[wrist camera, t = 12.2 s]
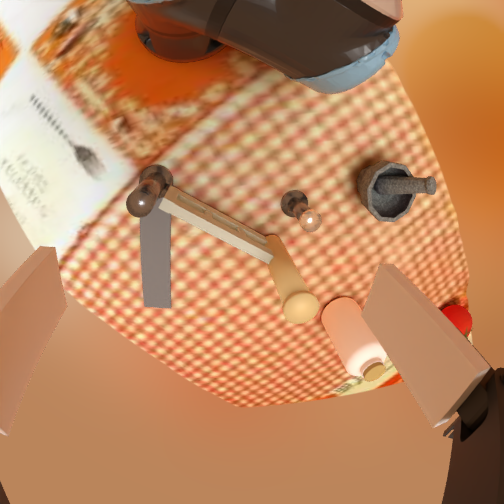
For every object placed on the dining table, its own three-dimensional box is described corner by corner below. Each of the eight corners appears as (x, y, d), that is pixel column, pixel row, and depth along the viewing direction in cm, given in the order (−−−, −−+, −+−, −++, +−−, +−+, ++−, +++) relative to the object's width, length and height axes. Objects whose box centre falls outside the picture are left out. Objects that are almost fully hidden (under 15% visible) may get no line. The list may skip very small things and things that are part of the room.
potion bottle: (321, 297, 56) (359, 362, 40) (358, 292, 57) (402, 351, 41) (317, 329, 60) (348, 394, 44) (352, 323, 61) (388, 382, 45)
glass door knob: (283, 188, 45) (299, 204, 38) (309, 191, 46) (329, 208, 38) (278, 215, 47) (293, 235, 40) (304, 217, 48) (322, 237, 40)
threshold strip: (140, 174, 41) (140, 175, 41) (172, 175, 42) (172, 176, 42) (144, 305, 51) (144, 306, 51) (171, 306, 52) (170, 308, 52)
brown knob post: (140, 164, 40) (118, 181, 30) (174, 165, 41) (162, 182, 31) (139, 197, 42) (118, 224, 32) (172, 198, 43) (160, 226, 33)
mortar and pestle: (359, 217, 50) (395, 246, 39) (338, 173, 45) (375, 192, 35) (405, 187, 48) (446, 209, 37) (388, 143, 44) (433, 155, 33)
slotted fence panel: (161, 201, 43) (136, 252, 27) (174, 177, 41) (154, 216, 25) (274, 259, 50) (304, 328, 34) (288, 240, 49) (326, 302, 33)
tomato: (428, 335, 69) (448, 359, 60) (429, 310, 64) (452, 335, 55) (455, 317, 69) (475, 340, 59) (457, 292, 64) (481, 314, 54)
